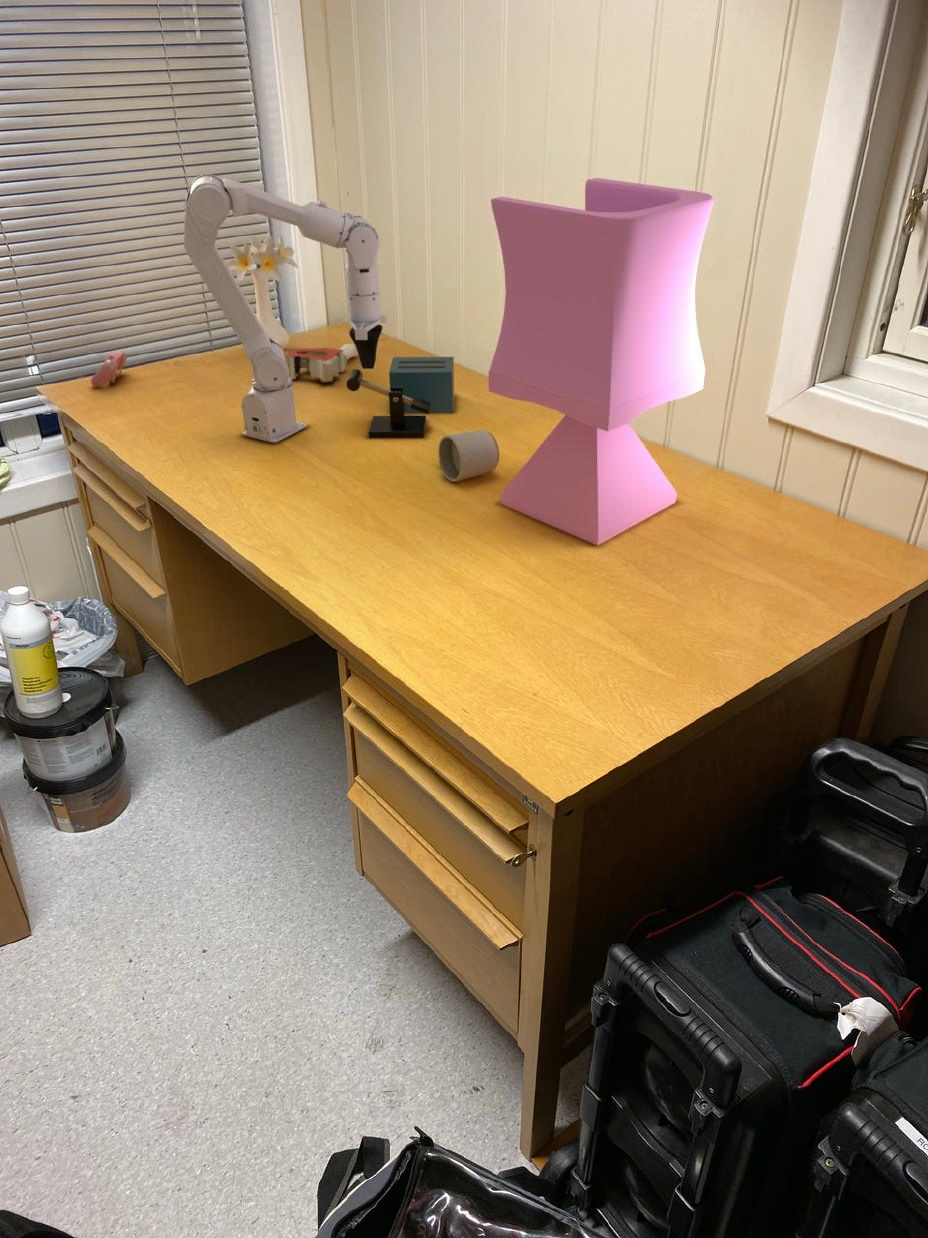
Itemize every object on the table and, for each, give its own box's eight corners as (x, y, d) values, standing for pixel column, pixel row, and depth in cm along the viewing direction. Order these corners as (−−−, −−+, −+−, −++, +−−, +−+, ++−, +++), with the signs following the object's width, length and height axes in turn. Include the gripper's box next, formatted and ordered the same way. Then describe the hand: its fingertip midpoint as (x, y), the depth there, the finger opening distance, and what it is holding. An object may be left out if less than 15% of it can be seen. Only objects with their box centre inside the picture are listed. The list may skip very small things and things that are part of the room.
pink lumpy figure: (110, 395, 198) (118, 365, 195) (88, 385, 197) (96, 355, 194) (125, 379, 207) (133, 350, 203) (104, 369, 206) (112, 341, 202)
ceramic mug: (502, 476, 159) (502, 433, 155) (461, 488, 155) (460, 444, 151) (468, 456, 166) (467, 414, 162) (428, 467, 163) (426, 424, 159)
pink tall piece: (578, 461, 164) (595, 177, 139) (688, 502, 150) (728, 195, 125) (488, 503, 151) (488, 198, 126) (599, 552, 137) (623, 220, 113)
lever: (344, 388, 170) (348, 376, 169) (348, 378, 174) (352, 366, 173) (426, 419, 173) (431, 407, 172) (428, 409, 177) (432, 397, 176)
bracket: (369, 438, 174) (366, 397, 169) (373, 421, 180) (370, 382, 176) (423, 437, 173) (422, 397, 169) (426, 421, 180) (424, 381, 176)
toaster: (391, 412, 184) (388, 371, 180) (395, 396, 192) (392, 356, 187) (453, 412, 184) (452, 371, 179) (454, 395, 191) (453, 356, 187)
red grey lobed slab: (357, 360, 215) (270, 368, 207) (356, 336, 212) (268, 343, 204) (384, 380, 201) (292, 389, 193) (384, 355, 198) (291, 363, 191)
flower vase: (217, 356, 214) (199, 239, 200) (289, 339, 223) (276, 227, 210) (244, 371, 205) (226, 249, 192) (318, 353, 215) (306, 236, 201)
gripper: (382, 303, 161) (386, 380, 169) (389, 281, 173) (393, 354, 181) (340, 303, 162) (346, 380, 169) (351, 281, 174) (356, 354, 181)
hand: (368, 367), depth 175 cm, fingers closed
